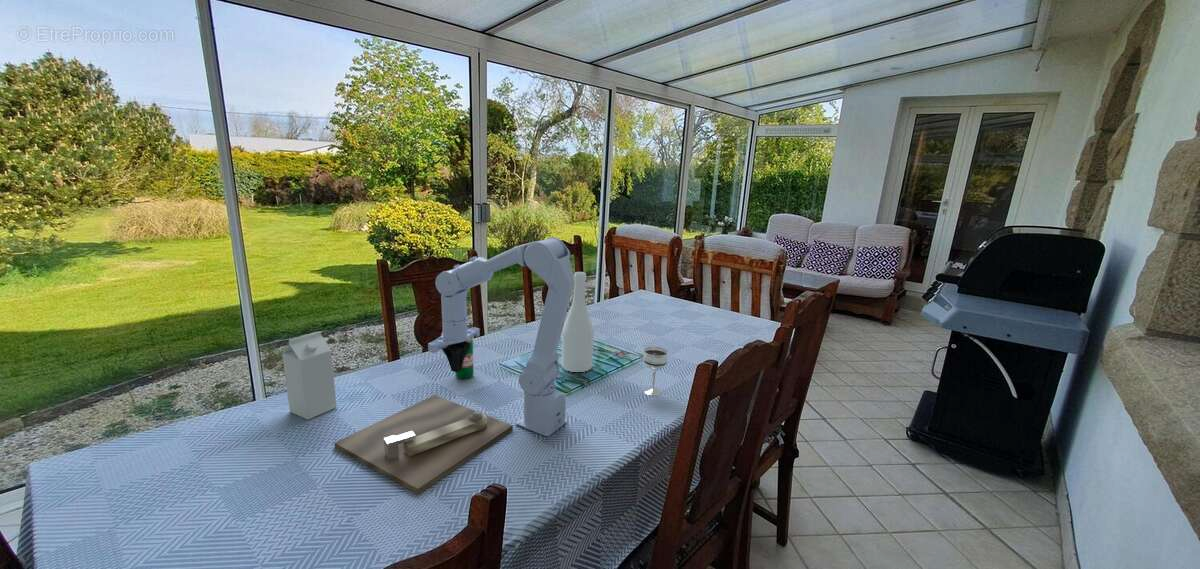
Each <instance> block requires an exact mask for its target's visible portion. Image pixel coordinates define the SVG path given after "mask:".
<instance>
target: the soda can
mask: <svg viewBox="0 0 1200 569" xmlns="http://www.w3.org/2000/svg"><path fill="white" fill-rule="evenodd" d="M466 342H469V343H470V348H469V349H468V351H467V353H466V355H465V358H464V361H463V365H462V369H461V371H459V372H454V373H455V374H454V375H455V377H456V378H457V379H458V380H459V379H460V380H468V379H470V378H472V377H473V376H474V371H475V370H474V368H475V367H474V339H473V337H472V338H469V339H467V340H466Z"/></svg>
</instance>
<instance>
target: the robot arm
mask: <svg viewBox="0 0 1200 569" xmlns="http://www.w3.org/2000/svg"><path fill="white" fill-rule="evenodd" d="M570 257H571V252H570V250H569V248H568V247H567V246H566V244H565V243H564V242H563V241H562V240H561V239H560V238H557V237H553V236H550V237H547V238H546V239H543V240H542V239H541V240H537V241H532V242H528V243H524V244H521V245H515V247H512V248H510V249H508V250H506V251H504V252H502V253H499V254H497V255H495V256H493V257H490V258H489V259H487V258H486V257H483V256H479V257H477V255H476V256H472V257H470V258H469V259H468V260H469V261H467V262H465V263H462V264H460V263H459V264H455V265H454V266H453V268H452V269H449V270H443V271H442V272H441V273H439V274H437V276H436V277H435V280H434V281H435V282H434V284H435V288H436V290H437V291H438V293H439V294H440V300H441V302H440V303H441V321H442V322H441V324H442V332H441V334H440V336H439V337H437V338H436V339H435V340H433V341H431V342H428V344H427V348H428V349H427V351H428V352H430V353H433V354H435V353H438V351H440V350H442V351H443V353H444V355H445V357H446V359H447V360H448V361H447V362H448V364H449V367H450V370H451V372H454V373H455V372H459V371H461V369H462V365H463V361H464V358H465V355H466V353H467V351H468V349H469V348H470V343H469V342H466V340H467V339H469V338H472V339H473V338H474V337H477V338H478V337H480V336H481V335H480V334H481V333H480V332H481V331H480V330H481V328H478V327H475V326H474V327H470V328H468V308H467V305H468V304H467V301H468V300H467V297H468V290H469V289H471V288H474V287H476V286H479V285H481V284H483V283H486V282H488V281H491V279H492V278H493V275H494V273H495V272H498V271H500V270H503V269H506V268H508V267H510V266H513V265H516V264H518V265H520V267H521V266H522V267H526V266H527V268H528V269H529V270H531V272H533V273H534V274H535V275H536V276H538V277H539V278H540V279H541V280H543V281H544V282H545V284H546V286H547V287H548V290H547V293H546V297H545V301H544V306H543V311H542V314H541V317H540V322H539V326H538V330H537V335H536V339H535V343H534V348H533V350H532V353H531V355H530V356H529V358H528V360H527V362H526V365H525V368H524V369H523V370H522V371H521V372H520V374H519V376H518V383H519V385H520V388H521V390H523V417H522V418H520V419H519V420H517V421H516V422H515V425H517V426H518V427H522V428H524V429H527V430H529V431H531V432H535V433H536V434H540V435H543V436H545V437H549V436H551V435H552V434H553V433H554V432H556V431H557V430H558V429H560V428H561V427H562V426H564V425H565V424H566V423H568V422H567V421H568V420H567V419H566V397H565V395H564V394H562V393H561V392H559V391H558V390H557V389H556V384H555V378H556V377H558V375H559V373H560V365H559V364H560V363H559V357H560V355H559V353H558V352H557V351H558V348H559V345H560V340H561V338H562V331H563V327H564V324H565V322H566V318H567V317H566V316H567V313H568V309H569V306H570V302H571V297H572V294H573V291H574V282H575V280H574V272H573V270H572V264H571V261H570V259H571V258H570Z"/></svg>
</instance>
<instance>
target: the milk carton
mask: <svg viewBox="0 0 1200 569" xmlns="http://www.w3.org/2000/svg"><path fill="white" fill-rule="evenodd" d="M282 360H283V370H284V376H285V377H284V378H285V386H286V392H287V393H286V394H287V400H288V410H289V412H290V413H291V414H294V415H296V416H299V417H300V418H303V419H305V420H307V421H308V420H311V419H313V418H315V417H317V416H320V415H322V414H325V413H326V412H328V411H331V410H333V409H336V408H337V406H338V405H337V397H336V388H335V386H336V385H335V376H334V366H333V357H332V350H331V348H330V346H329V345H328V343H327V342H326V341H325V339H324V338H323V336H322V331H317V332H313V333H309V334H306V335H305V334H304V335H302V336H300V337H299V336H298V337H295V338H291V339H288V346H287V347H286V348H285V349H284V351H283V352H282Z"/></svg>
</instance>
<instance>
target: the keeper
mask: <svg viewBox="0 0 1200 569" xmlns="http://www.w3.org/2000/svg"><path fill="white" fill-rule="evenodd" d="M413 439H416V435H415V434H414V432H413V431H410V432H407V433H404V434H400V435H397V436H395V435H392V436H389V437H386V438H384V449H385V456H386V458H387V459H388V461H389V460H392V459H395V458H398V457H399V450H398V444H401V443H404V442H407V441H410V440H413Z"/></svg>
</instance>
